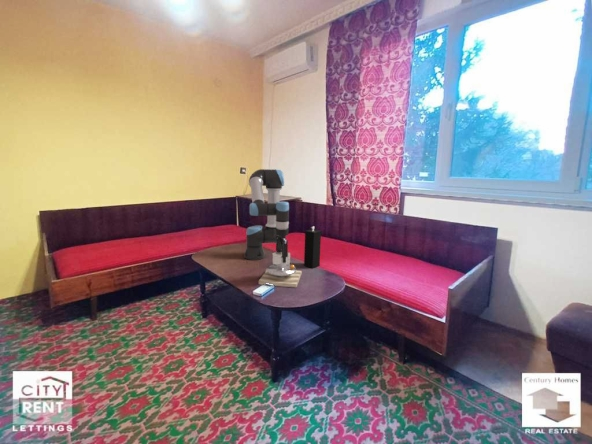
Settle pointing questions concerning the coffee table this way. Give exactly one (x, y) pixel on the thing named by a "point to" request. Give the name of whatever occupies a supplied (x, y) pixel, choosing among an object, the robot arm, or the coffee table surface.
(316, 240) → the black pillar candle
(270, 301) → the coffee table surface
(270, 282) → the base plate
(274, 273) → the handwheel
